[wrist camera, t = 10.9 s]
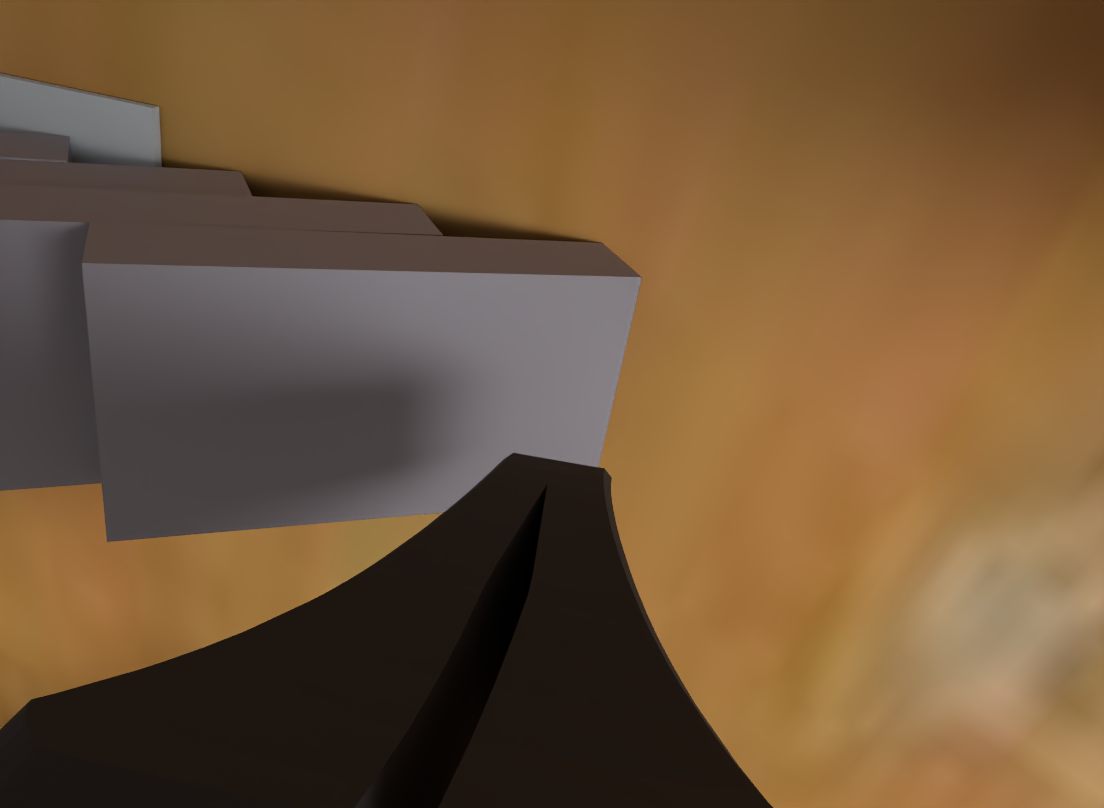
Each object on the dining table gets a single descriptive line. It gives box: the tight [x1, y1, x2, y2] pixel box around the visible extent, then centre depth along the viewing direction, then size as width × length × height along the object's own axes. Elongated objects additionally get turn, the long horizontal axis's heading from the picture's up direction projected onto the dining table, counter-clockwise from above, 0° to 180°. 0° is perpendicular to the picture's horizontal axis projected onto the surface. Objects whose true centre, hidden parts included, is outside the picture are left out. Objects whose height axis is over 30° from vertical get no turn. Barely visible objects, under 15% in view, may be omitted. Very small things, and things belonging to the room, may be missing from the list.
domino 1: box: [0, 184, 443, 491], centre depth 14 cm, size 2×4×8 cm
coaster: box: [0, 73, 162, 167], centre depth 17 cm, size 6×6×1 cm
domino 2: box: [82, 221, 642, 542], centre depth 14 cm, size 2×4×8 cm
